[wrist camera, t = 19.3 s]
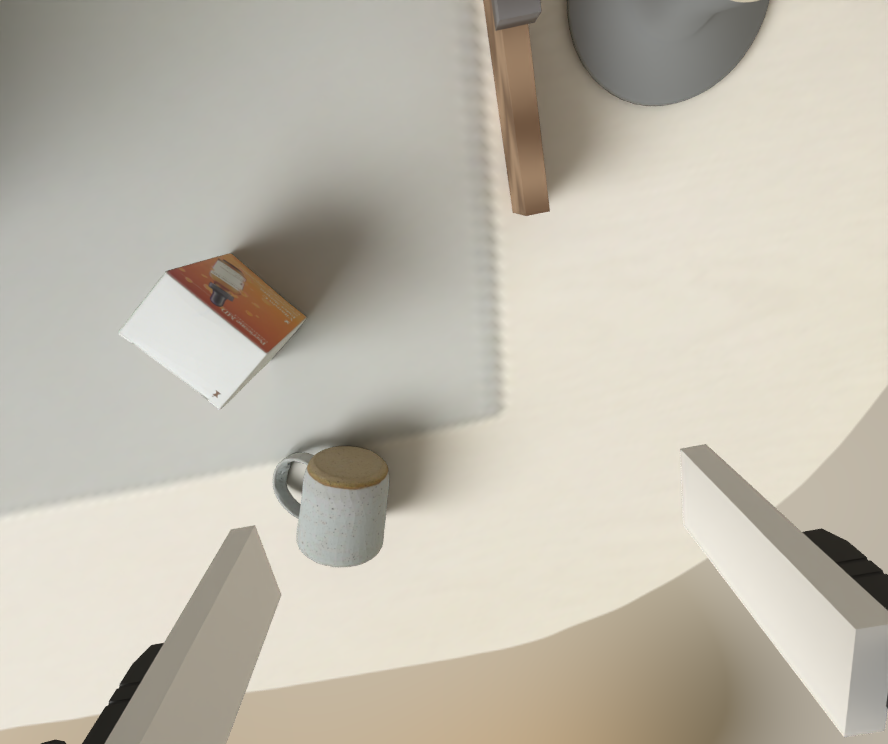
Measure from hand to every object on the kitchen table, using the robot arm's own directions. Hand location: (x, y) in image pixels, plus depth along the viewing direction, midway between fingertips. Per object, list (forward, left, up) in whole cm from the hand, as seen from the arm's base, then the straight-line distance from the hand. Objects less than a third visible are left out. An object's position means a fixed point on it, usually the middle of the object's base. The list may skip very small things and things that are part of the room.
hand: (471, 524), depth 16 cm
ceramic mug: (+5, -18, -29) cm, 35 cm away
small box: (-11, -12, -29) cm, 33 cm away
